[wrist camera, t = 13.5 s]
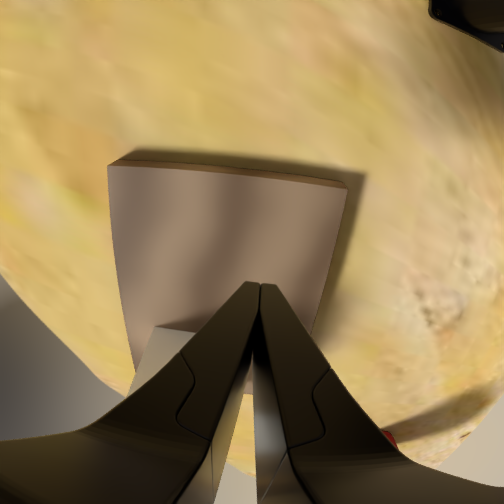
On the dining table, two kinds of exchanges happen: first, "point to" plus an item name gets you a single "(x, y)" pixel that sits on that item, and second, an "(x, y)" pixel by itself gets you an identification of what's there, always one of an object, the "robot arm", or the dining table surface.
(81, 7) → the dining table surface
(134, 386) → the off-white cube
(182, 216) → the board
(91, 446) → the robot arm
